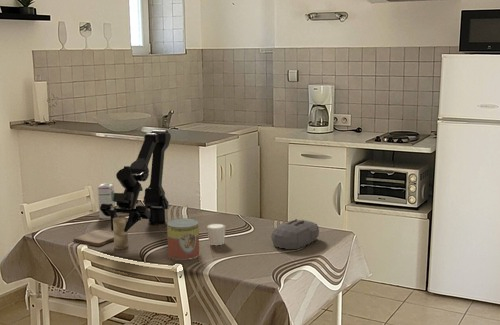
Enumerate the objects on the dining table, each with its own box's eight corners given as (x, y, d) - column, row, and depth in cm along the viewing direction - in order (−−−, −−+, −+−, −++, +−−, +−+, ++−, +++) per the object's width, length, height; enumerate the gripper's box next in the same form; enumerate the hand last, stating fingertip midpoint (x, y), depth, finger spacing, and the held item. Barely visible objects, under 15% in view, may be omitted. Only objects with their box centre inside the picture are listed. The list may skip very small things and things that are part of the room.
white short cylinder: (228, 241, 238) (228, 224, 236) (221, 247, 231) (221, 229, 230) (211, 240, 240) (211, 222, 239) (204, 245, 233) (204, 227, 232)
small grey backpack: (291, 233, 248) (263, 246, 232) (291, 213, 246) (262, 225, 230) (324, 240, 239) (297, 254, 223) (325, 219, 238) (298, 232, 222)
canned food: (174, 262, 216) (173, 228, 214) (163, 252, 226) (162, 220, 224) (204, 256, 221) (203, 224, 219) (192, 247, 231) (191, 216, 229)
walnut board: (97, 232, 251) (97, 229, 250) (122, 237, 244) (122, 234, 244) (73, 241, 240) (73, 238, 239) (99, 246, 233) (98, 243, 233)
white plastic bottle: (112, 218, 270) (111, 186, 268) (99, 218, 270) (97, 186, 268) (115, 215, 276) (114, 183, 273) (102, 215, 276) (100, 183, 273)
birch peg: (127, 244, 236) (126, 216, 234) (128, 248, 231) (127, 219, 229) (114, 245, 234) (112, 217, 232) (114, 249, 230) (113, 220, 228)
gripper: (100, 182, 235) (87, 218, 226) (146, 184, 230) (134, 222, 221) (111, 197, 243) (99, 233, 235) (155, 200, 238) (144, 236, 230)
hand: (118, 230), depth 230 cm, fingers closed on birch peg, 5 cm apart
